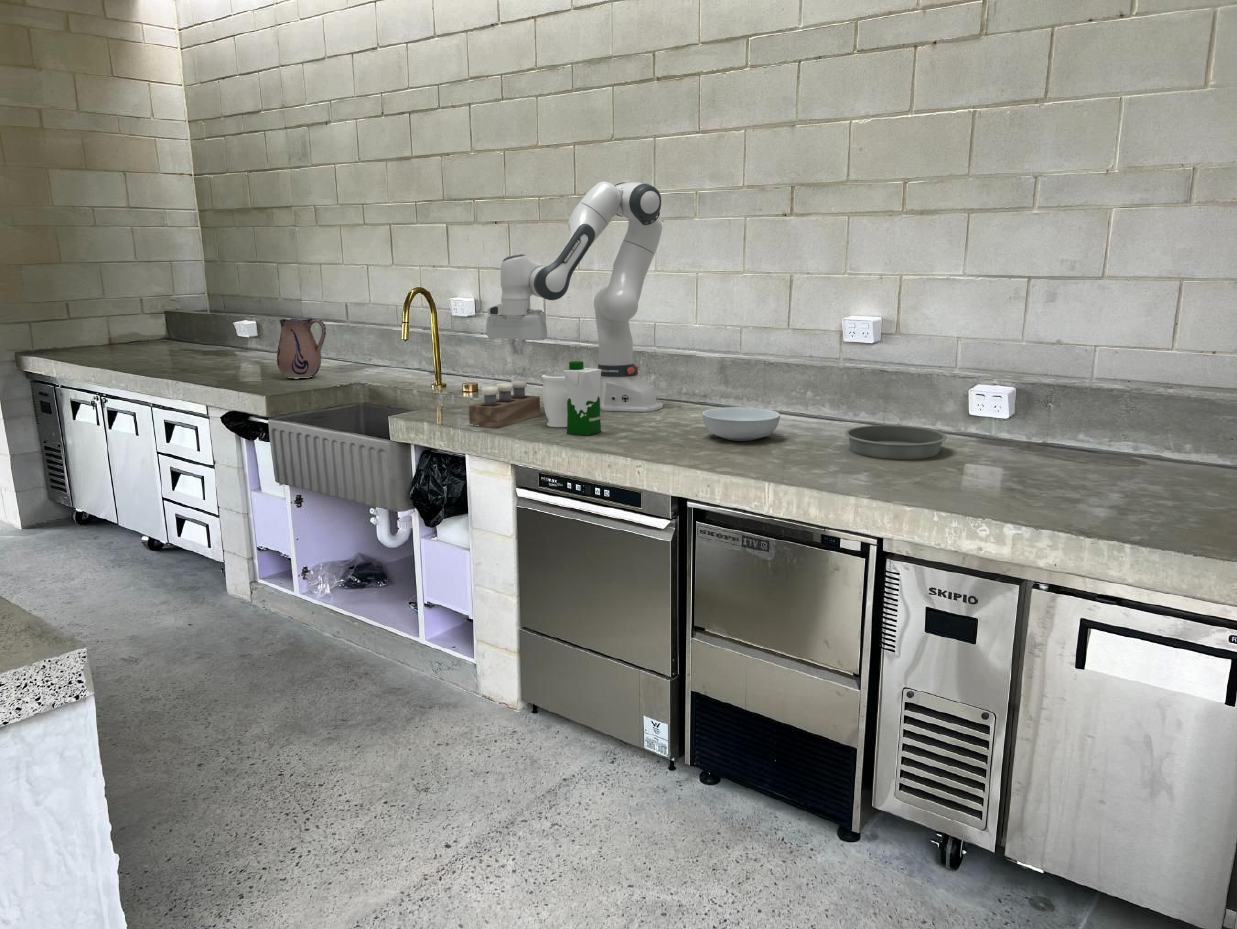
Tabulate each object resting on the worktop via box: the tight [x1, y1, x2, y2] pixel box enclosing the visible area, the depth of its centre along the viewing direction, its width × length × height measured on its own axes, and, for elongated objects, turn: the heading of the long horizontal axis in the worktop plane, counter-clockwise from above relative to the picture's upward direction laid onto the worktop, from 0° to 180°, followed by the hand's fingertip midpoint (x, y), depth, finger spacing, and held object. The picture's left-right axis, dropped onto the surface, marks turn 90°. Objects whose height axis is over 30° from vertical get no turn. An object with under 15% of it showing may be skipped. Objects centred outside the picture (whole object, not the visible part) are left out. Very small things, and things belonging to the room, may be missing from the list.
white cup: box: [541, 372, 567, 428], centre depth 273 cm, size 11×10×15 cm
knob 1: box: [481, 385, 499, 407], centre depth 276 cm, size 5×5×6 cm
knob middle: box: [496, 382, 513, 403], centre depth 283 cm, size 5×5×6 cm
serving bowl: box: [701, 406, 781, 442], centre depth 252 cm, size 21×21×7 cm
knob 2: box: [510, 379, 527, 399], centre depth 290 cm, size 5×5×6 cm
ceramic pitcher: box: [276, 317, 327, 378], centre depth 390 cm, size 18×21×25 cm
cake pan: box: [844, 424, 948, 460], centre depth 234 cm, size 25×25×4 cm
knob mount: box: [468, 394, 541, 429], centre depth 284 cm, size 10×24×6 cm, turn 154°
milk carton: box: [563, 360, 602, 437], centre depth 261 cm, size 9×9×20 cm
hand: (517, 354), depth 287 cm, fingers closed
